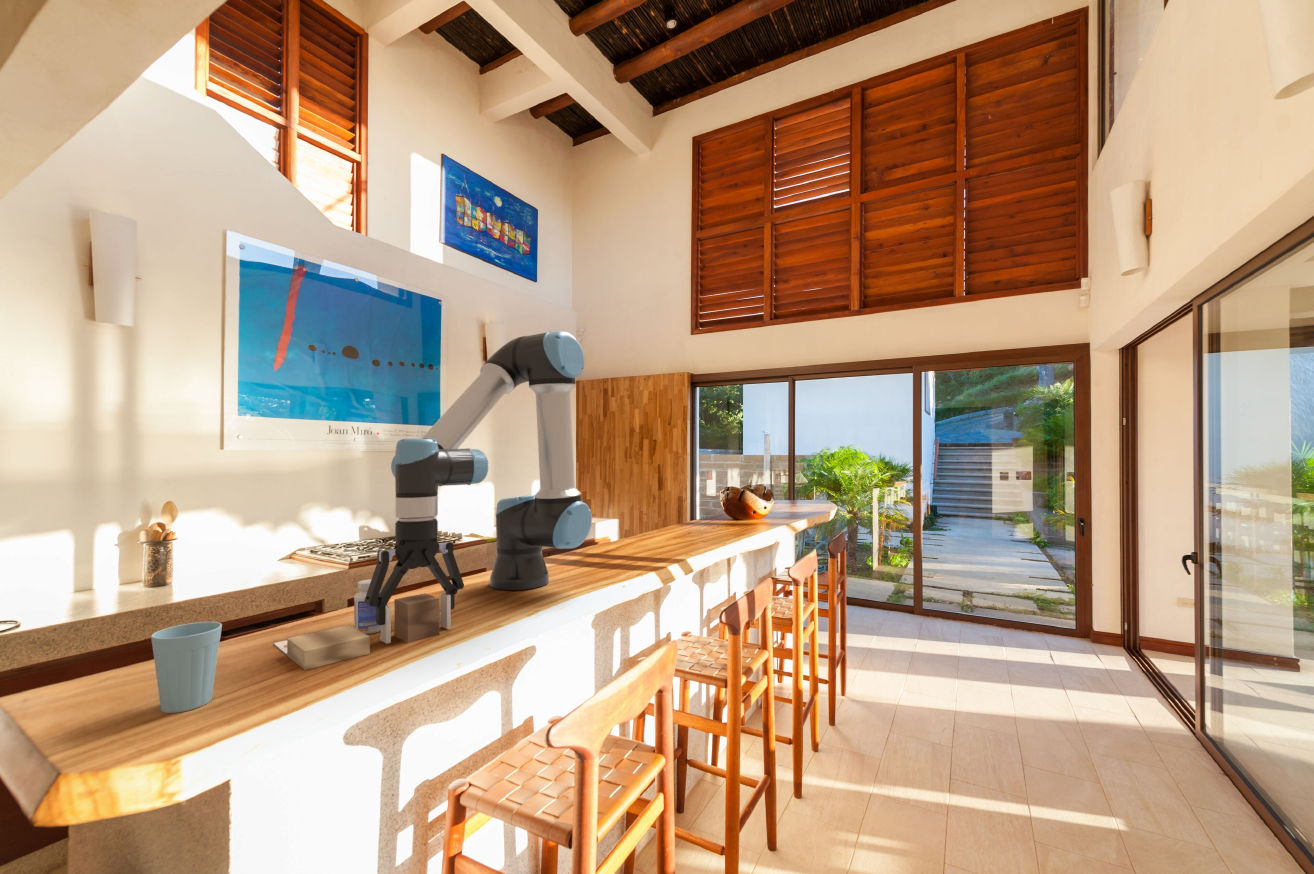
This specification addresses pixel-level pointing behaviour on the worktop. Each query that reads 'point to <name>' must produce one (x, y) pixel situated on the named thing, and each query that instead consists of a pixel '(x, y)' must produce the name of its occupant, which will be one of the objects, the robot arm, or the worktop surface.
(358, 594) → the pill bottle
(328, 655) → the oak base slab
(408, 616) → the walnut block
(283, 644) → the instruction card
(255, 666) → the worktop surface
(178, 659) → the cup
